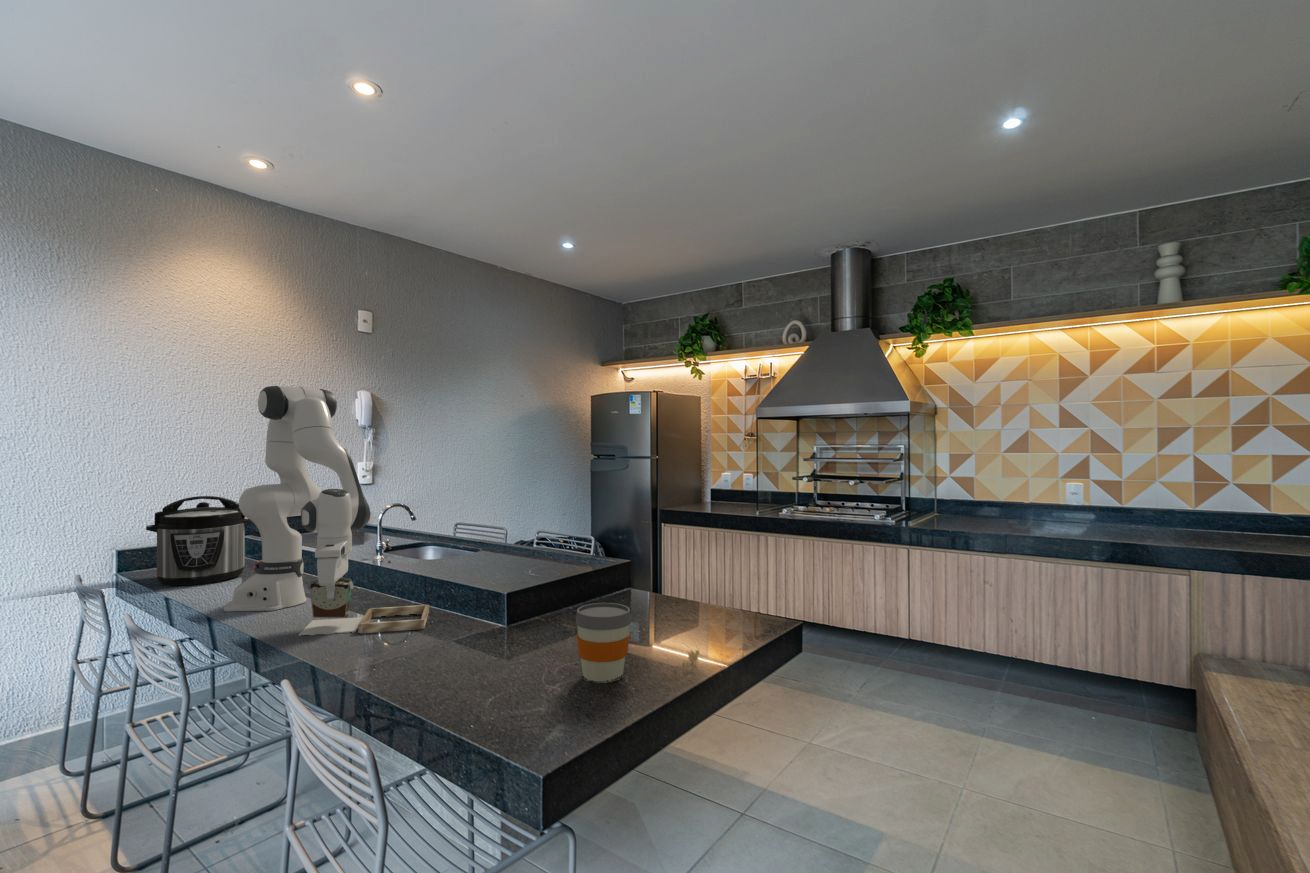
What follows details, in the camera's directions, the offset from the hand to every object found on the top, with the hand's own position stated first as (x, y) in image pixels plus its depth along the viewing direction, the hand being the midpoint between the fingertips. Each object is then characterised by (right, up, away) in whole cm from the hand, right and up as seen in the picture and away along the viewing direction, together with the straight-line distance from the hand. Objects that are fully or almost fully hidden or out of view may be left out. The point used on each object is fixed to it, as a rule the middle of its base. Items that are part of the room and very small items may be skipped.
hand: (334, 595), depth 173 cm
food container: (0, -6, +1) cm, 6 cm away
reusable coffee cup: (+80, -9, -35) cm, 88 cm away
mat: (0, -9, 0) cm, 9 cm away
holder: (+16, -9, +5) cm, 19 cm away
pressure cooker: (-82, -10, +58) cm, 101 cm away
